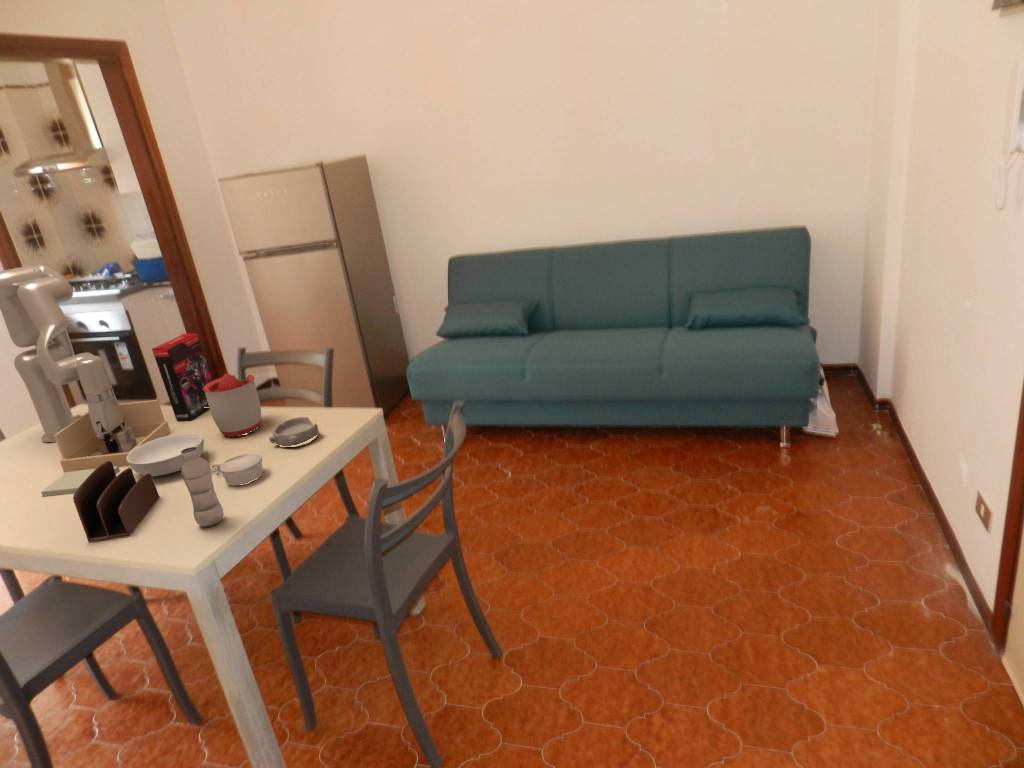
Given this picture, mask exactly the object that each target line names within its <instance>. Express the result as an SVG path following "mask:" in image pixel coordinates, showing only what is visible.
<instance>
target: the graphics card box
mask: <svg viewBox="0 0 1024 768" xmlns="http://www.w3.org/2000/svg"><path fill="white" fill-rule="evenodd" d="M151 351H152V354H153V357H154V358H155V362H156V366H157V368H158V371H159V373H160V377H161V379H162V383H163V386H164V388H165V392H166V394H167V397H168V401H169V402H170V405H171V409H172V411H173V414H174V417H175V420H176V422H180V421H181V422H182V421H183V422H184V421H186V422H187V421H192V420H194V419H195V418H197V417H199V416H200V415H201V414H203V413H204V412H206V411H207V410H210V408H204V407H209V405H208V401H207V398H206V394H205V391H204V390H203V387H204V386H205V385H206V384H208V383H209V382H211V381H213V378H212V375H211V372H210V368H209V366H208V362H207V359H206V357H205V353H204V350H203V347H202V343H201V341H200V337H199V334H198V333H193V332H191V333H181V334H180V335H177V336H176V337H175V338H172V339H170V340H167V341H166V342H164V343H161V344H159V345H156V346H154V347H152V348H151Z"/></svg>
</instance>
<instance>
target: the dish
mask: <svg viewBox="0 0 1024 768" xmlns="http://www.w3.org/2000/svg"><path fill="white" fill-rule="evenodd" d="M317 433H318V434H319V427H318V424H317V423H313V422H312V421H311V419H310V418H309V417H307V416H299V417H293V418H290V419H287V420H284V421H283V422H281V423H278V424H277V425H276V426H275V428H273V430H272V435H270V436H269V438H268V439H269V442H270V443H272V444H278V445H282V446H291V445H297V444H300V443H303V442H305V441H307V440H309V439H311V438H313V437H314V436H316V435H317Z"/></svg>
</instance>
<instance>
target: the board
mask: <svg viewBox="0 0 1024 768" xmlns="http://www.w3.org/2000/svg"><path fill="white" fill-rule="evenodd" d="M94 470H96V469H89V470H80V471H71V472H66V473H63V474H62V475H61V476H59V477H58V478H56V479H55V480H54V481H53V482H52V483H51V484H49V485H48V486H46V487H45V488H44V489H42V490H41V491H40V493H41V495H42V497H47V496H46V495H52V496H58V494H61V495H68V493H69V494H75V492H76V491H77V489H78V488H79V487H80V485H81V484H82V483H83V482H84V481H85V480H86V479H87V478H88V476H89V475H90V474H91V473H92V472H93V471H94ZM114 470H115V473H116V474H118V473H119V472H120V467H118V466H115V467H114Z"/></svg>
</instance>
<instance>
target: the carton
mask: <svg viewBox="0 0 1024 768" xmlns="http://www.w3.org/2000/svg"><path fill="white" fill-rule="evenodd" d="M119 405H120V407H121V410H122V413H123V416H124V417H125V426H124V428H127V427H131V428H132V431H133V434H134V437H135V438H140V437H141V436H142V437H145V438H144V439H142V440H141V441H140V442H139V443H137V446H135V447H134V448H133V449H132V450H134V449H135V448H137V447H139V446H141V445H143V444H145V443H147V442H150V441H152V440H155V439H158V438H161V437H165V436H169V434H171V429H170V426H169V423H168V421H166V420H165V417H164V414H163V411H162V408H161V404H160V402H159V399H153V400H145V401H137V402H135V401H134V402H127V403H119ZM95 436H97V434H96V433H95V432H94V429H93V426H92V423H91V419H90V415H89V411H87V412H86V413H85V414H84V415H81V417H80V418H79V419H77V420H76V421H74V422H73V423H71V424H70V425H69V426H67V427H66V428H64V429H63V430H61V431H60V432H58V433H57V434H55V435H54V437H55V439H56V442H55V443H56V445H57V447H58V449H59V452H60V455H61V457H62V459H61V460H59V463H60V465H61V467H62V471H63V473H64V472H71V471H80V470H89V469H97V468H98V467H99V466H100V465H102V464H103V463H105V462H107V461H111V462H112V464H113V467H115V466H118V467H119V468H121V467H128V466H129V464H128V462H127V460H126V458H127V455H128V454H129V453H130V452H131V451H132V450H131V451H130V452H125V453H116V454H108V455H102V454H100V455H92V454H93V453H94V452H96V451H97V450H98V449H99V446H98V444H97V441H96V438H95ZM91 453H92V454H91ZM90 454H91V455H92V456H91V455H90ZM87 456H88V457H87ZM129 467H130V466H129Z"/></svg>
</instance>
